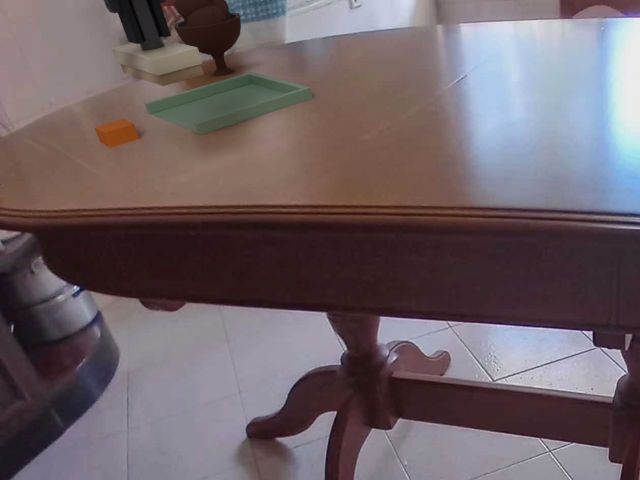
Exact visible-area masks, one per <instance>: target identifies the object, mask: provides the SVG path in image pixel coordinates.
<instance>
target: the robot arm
mask: <svg viewBox="0 0 640 480" xmlns="http://www.w3.org/2000/svg"><path fill="white" fill-rule="evenodd" d="M103 2H104V5H105V7H106V9H107V10H108V11H109V13H111V14H117V16H118V18H119V21H120V23H121V26H122V29H123V31H124V34H125V37H126V39H127V42H128V43H135V44H140V43H144V42H143V39H142V36H141V34H140V31H139V28H138V25H137V23H136V20H135V17H134V14H133V11H132V9H131V6H130V3H129V0H103ZM149 2H150V4H151V7H152V10H153V13H154V16H155V19H156V22H157V24H158V27H159V30H160V33H161V36H162V38H168V37H171V36H172V34H171V31H170V28H169V24H168V21H167V18H166V16H165V13H164V10H163V8H162V4H165V3H167V0H149Z"/></svg>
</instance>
